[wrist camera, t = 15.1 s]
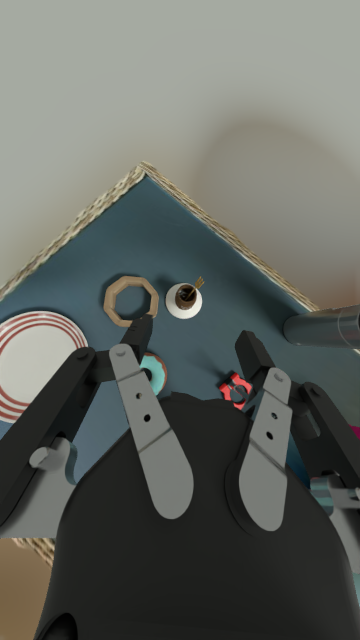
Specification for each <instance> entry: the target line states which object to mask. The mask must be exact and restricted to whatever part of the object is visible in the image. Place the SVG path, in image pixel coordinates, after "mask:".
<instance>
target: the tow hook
mask: <svg viewBox="0 0 360 640" xmlns="http://www.w3.org/2000/svg"><path fill="white" fill-rule="evenodd" d="M238 384H240V385H243V386H244V387H245V388H246V390H247V393H246V392H245V391H243V390H242V389H241V388H239V386H238ZM228 387H229V388H230V389H233V390H234V391H237V392H238V393H239V394H240V395H241V396H242V397H244V398H245V400H244V401H243V402H242V403H234V406H235V407H237V408H238V409H240V410H241V409H242V407H243V406H244V403H245V401H246V399H247V397H248V394H249V392H250V390H251V388H252V387H251V385H250V384H249V383H246V381H245V380H243V379H240V378H239V375H238V374H237V373H236V372H235V373H234V374H233V375H232V376H231V377H229V378H228V379H227V380H226V381H225V382H224V383H223V384H222V385H221V386H220V387H219V389H220V390H221V391H222V392H223V393H224V399H225V400H231V399H230V389H229V388H228Z"/></svg>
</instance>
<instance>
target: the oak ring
mask: <svg viewBox="0 0 360 640" xmlns="http://www.w3.org/2000/svg"><path fill="white" fill-rule="evenodd" d="M127 286H140V287H144V288H145V289H146V290H147V291H148V292H149V294H150V295H151V296H152V297H151V307H150V311H149V312H148V313H147V314H151V315H153V318H154V317H155V316H156V315H155V314H157V309H158V298H159V297H158V294H157V292H156V291H155V289H154V288H153V287H152V286H151V285H150V284H149V282H148V281H147V280H146V279H144V278H141V277H131V276H124V277H121V278H120V279H119V280H117V281H116V282H115V283H113V284H112V285H111V286H109V287H108V289H106V295H105V301H104V311H105V312H106V313H107V314H108V315H109V317H110V318H111V319H112V320H113V322H114V323H115V324H116V325H118V326H122V327H130V325H131V323H132V321H128V320H122V318H121V317H120V316H119V315H118V313H117V312H116V311H115V310H114V308H115V301H116V295H117V294H118V293H119V292H121V291H122V290H123V289H125V288H126V287H127ZM140 319H141V318H140Z"/></svg>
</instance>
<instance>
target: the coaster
mask: <svg viewBox="0 0 360 640" xmlns="http://www.w3.org/2000/svg"><path fill="white" fill-rule="evenodd" d="M185 284H186V283H180V284H177V285H175V286H173V287H172V288H171V289H170V290H169V291H168V293H167V295H166V306H167V309H168V310H169V312H170V313H171V314H172V315H173V316H175V317H177V318H181V319H187V318H191V317H193V316H194V315H196V314H197V313H198V311H199V310H200V308H201V305H202V298H201V294H200V292H199V291H198V290H197V289H196V291H197V299H196V302H195V304H194V305H193V307H192V308H190V309H188V310H181V309H179V308H178V307H177V305H176V303H175V295H176V291H177V290H178V289H179V288H180V287H181V286H182V285H185ZM189 285H190V284H189ZM193 287H194V286H193ZM194 288H195V287H194Z"/></svg>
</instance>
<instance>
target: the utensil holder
mask: <svg viewBox="0 0 360 640" xmlns="http://www.w3.org/2000/svg"><path fill="white" fill-rule="evenodd" d="M200 279H201V276H200V277H199V279H198V280H197V281H196V283H195V288H194V287H193V286H192V285H189V284H185V285H182V286H181V287H180V288H179V289H178V290H177V291H176V295H175V303H176V305H177V307H178V308H179V309H181V310H188V309H190V308H192V307H193V305H194V304H195V302H196V299H197V291H196V288H200V287H201V285H202V284H203V283H204V281H203V282H202V283H201V281H202V280H203V279H201V280H200ZM199 280H200V282H199V283H198V281H199ZM200 283H201V284H200ZM199 284H200V285H199Z"/></svg>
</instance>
